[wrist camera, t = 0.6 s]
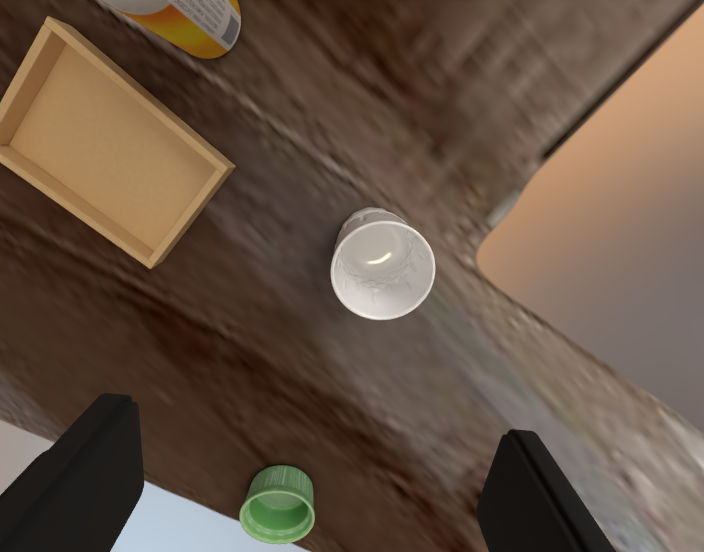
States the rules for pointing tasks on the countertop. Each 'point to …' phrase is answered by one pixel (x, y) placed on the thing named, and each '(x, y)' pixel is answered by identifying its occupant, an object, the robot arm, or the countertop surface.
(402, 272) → the white cup
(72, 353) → the countertop surface
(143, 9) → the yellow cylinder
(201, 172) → the tray
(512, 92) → the countertop surface
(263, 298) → the countertop surface
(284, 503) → the ramekin
